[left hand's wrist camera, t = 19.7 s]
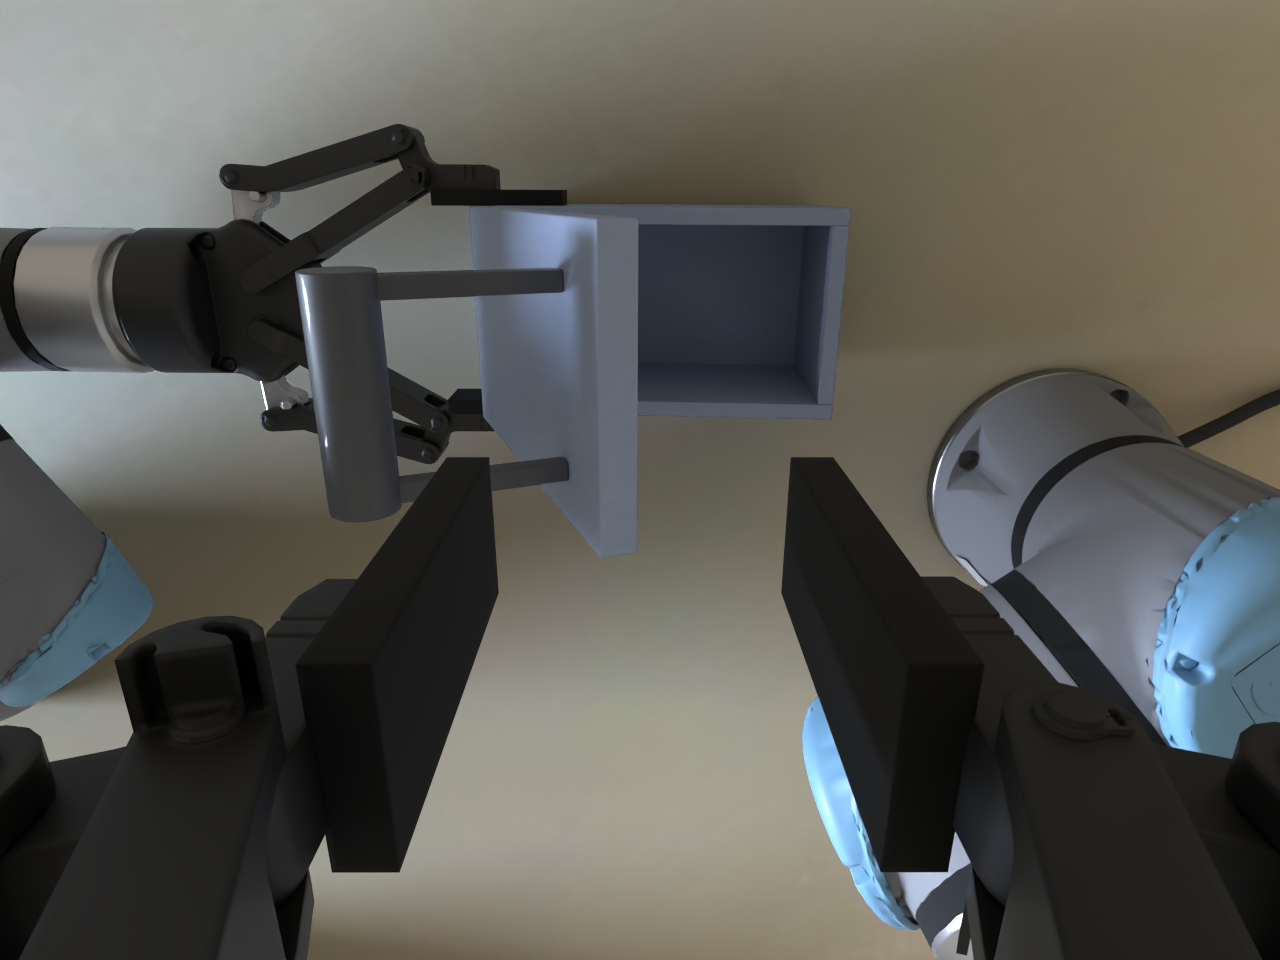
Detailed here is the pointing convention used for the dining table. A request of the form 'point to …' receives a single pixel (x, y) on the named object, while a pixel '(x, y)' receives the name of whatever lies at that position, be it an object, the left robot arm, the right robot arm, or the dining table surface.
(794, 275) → the chest
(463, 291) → the lid
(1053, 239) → the dining table surface
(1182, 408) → the dining table surface
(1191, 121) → the dining table surface
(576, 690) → the dining table surface
